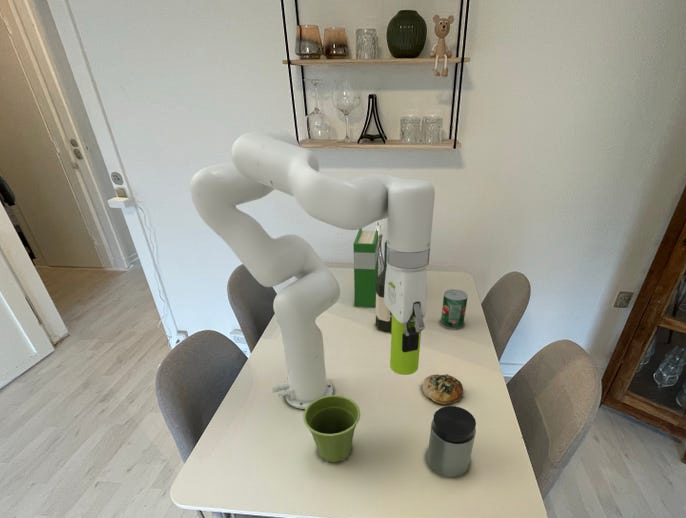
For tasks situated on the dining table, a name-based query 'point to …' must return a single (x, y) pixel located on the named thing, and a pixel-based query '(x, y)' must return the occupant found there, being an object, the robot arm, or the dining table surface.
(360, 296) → the hardback book
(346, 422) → the plant pot
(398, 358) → the soap dispenser
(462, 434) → the grey and black cylinder
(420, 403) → the dining table surface
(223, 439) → the dining table surface
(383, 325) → the wine bottle
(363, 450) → the dining table surface
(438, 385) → the bread roll
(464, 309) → the canned tomato
